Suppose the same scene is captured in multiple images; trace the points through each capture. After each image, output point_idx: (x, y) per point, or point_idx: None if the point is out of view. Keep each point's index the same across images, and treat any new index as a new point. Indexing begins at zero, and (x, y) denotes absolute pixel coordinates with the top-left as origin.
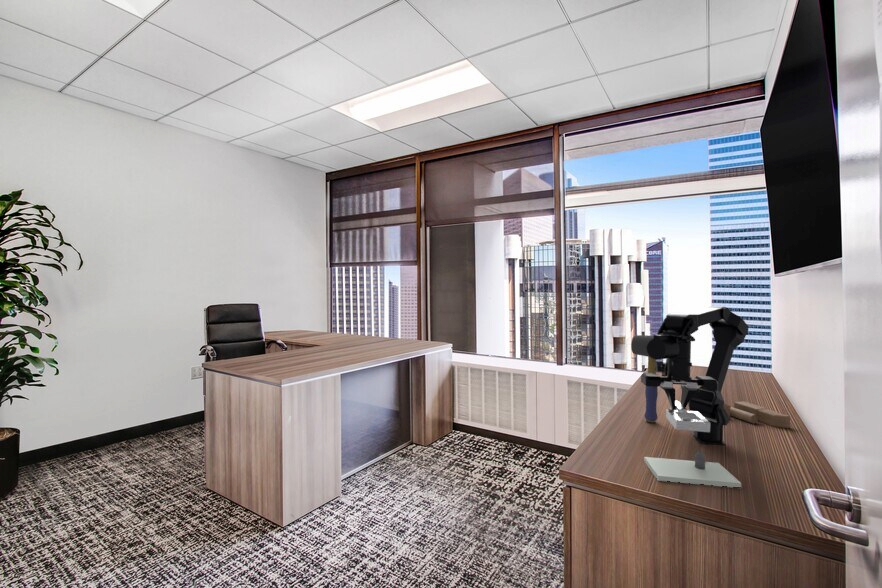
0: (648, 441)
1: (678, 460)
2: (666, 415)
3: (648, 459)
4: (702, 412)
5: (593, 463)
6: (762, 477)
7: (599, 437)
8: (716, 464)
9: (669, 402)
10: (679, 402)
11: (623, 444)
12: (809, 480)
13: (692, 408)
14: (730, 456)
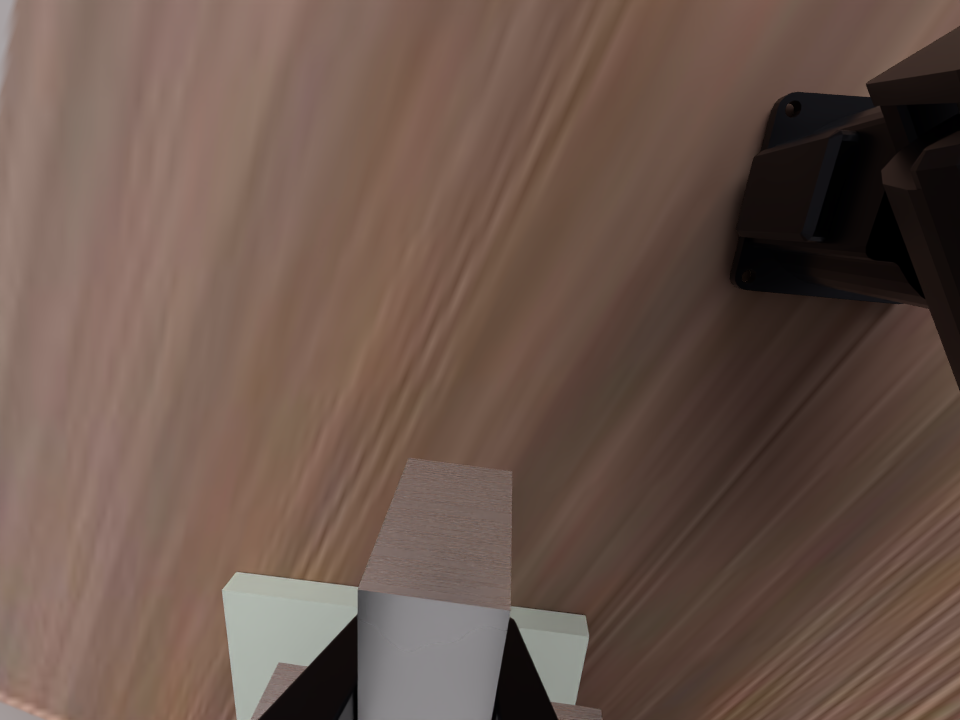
0: (337, 284)
1: None
2: (264, 698)
3: (237, 615)
4: (951, 364)
5: (6, 601)
6: (731, 690)
7: (10, 246)
8: (564, 653)
9: (293, 692)
10: (492, 684)
11: (160, 359)
12: (945, 708)
13: (912, 226)
14: (767, 483)
